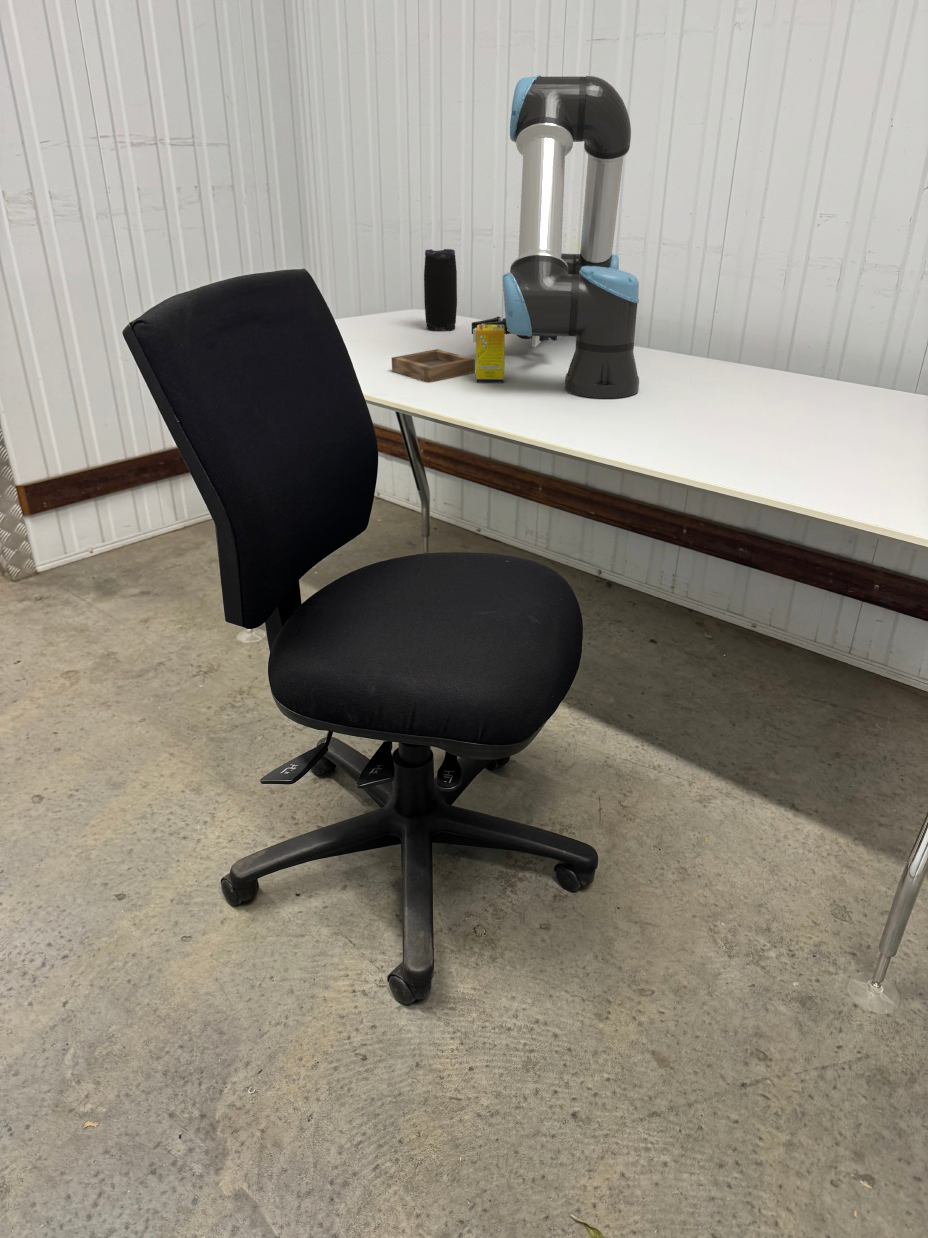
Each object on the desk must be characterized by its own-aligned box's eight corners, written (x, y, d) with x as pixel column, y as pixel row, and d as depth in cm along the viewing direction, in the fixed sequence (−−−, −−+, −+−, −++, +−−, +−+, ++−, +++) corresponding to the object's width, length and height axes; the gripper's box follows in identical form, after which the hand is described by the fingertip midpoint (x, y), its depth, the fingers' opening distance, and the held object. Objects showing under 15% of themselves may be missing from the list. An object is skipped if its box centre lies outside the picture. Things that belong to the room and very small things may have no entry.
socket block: (474, 372, 196) (475, 358, 194) (429, 382, 188) (428, 368, 187) (437, 362, 204) (437, 348, 203) (392, 371, 197) (391, 357, 195)
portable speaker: (453, 324, 243) (453, 247, 234) (459, 331, 235) (459, 252, 226) (422, 325, 242) (421, 248, 232) (427, 332, 234) (426, 252, 224)
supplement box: (476, 376, 193) (476, 323, 188) (503, 376, 193) (504, 324, 188) (475, 382, 188) (476, 329, 183) (503, 383, 188) (505, 329, 183)
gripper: (579, 339, 211) (558, 359, 194) (479, 332, 218) (450, 351, 201) (581, 306, 208) (560, 324, 190) (480, 300, 215) (450, 316, 197)
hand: (503, 338), depth 195 cm, fingers open, 13 cm apart
